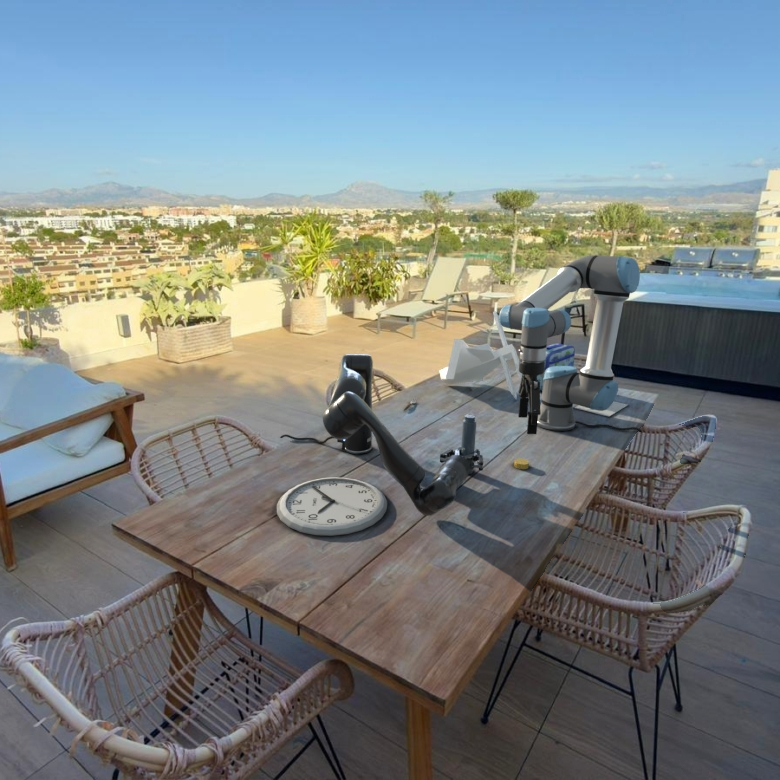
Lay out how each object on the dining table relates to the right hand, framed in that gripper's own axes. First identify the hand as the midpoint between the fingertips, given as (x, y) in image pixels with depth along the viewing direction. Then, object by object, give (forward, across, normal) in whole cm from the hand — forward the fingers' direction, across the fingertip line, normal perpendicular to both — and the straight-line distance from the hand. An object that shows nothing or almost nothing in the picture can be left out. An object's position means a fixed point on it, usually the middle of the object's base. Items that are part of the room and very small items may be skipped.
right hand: (526, 425), depth 165 cm
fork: (+14, -55, -37) cm, 68 cm away
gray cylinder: (+13, +6, -19) cm, 24 cm away
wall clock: (+12, +30, -58) cm, 66 cm away
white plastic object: (+16, -77, -5) cm, 79 cm away
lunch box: (+17, -88, +30) cm, 94 cm away
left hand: (+8, +3, -18) cm, 20 cm away
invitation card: (+17, -62, +46) cm, 78 cm away
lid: (+13, +1, -1) cm, 13 cm away
